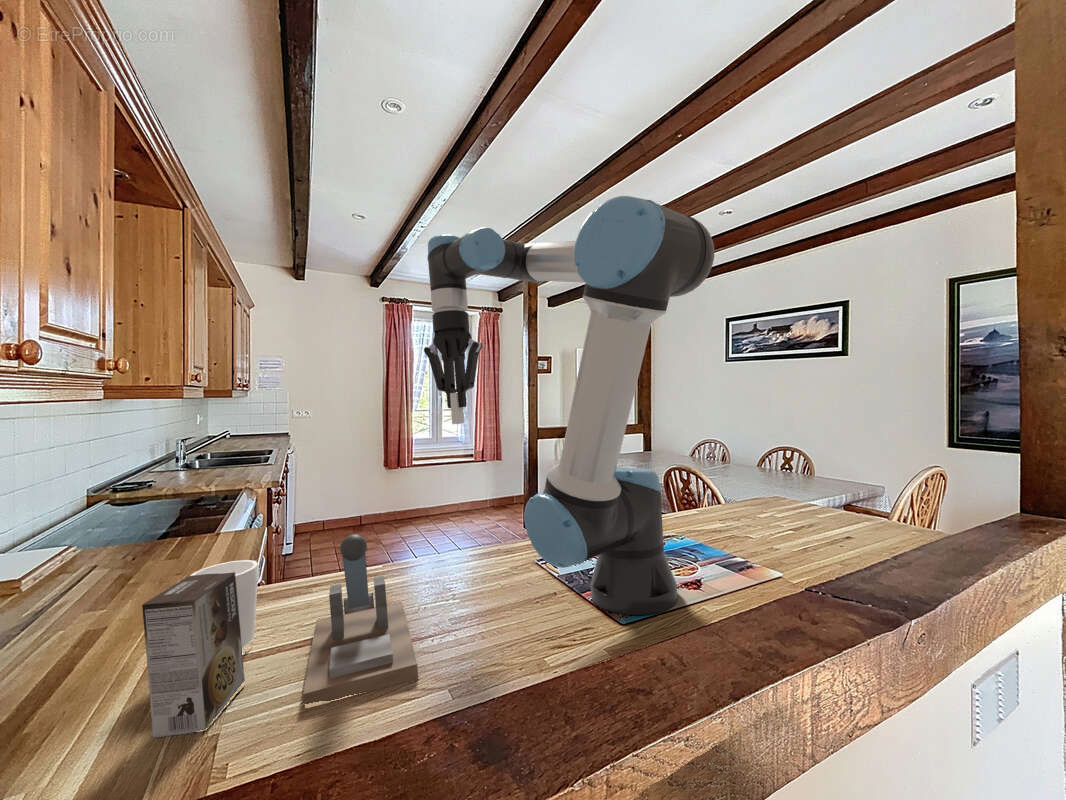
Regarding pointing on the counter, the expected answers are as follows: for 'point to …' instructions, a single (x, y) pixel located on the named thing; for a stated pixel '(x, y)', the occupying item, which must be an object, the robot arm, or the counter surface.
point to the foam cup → (241, 592)
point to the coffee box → (192, 652)
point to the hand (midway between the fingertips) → (458, 423)
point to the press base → (359, 649)
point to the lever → (356, 574)
